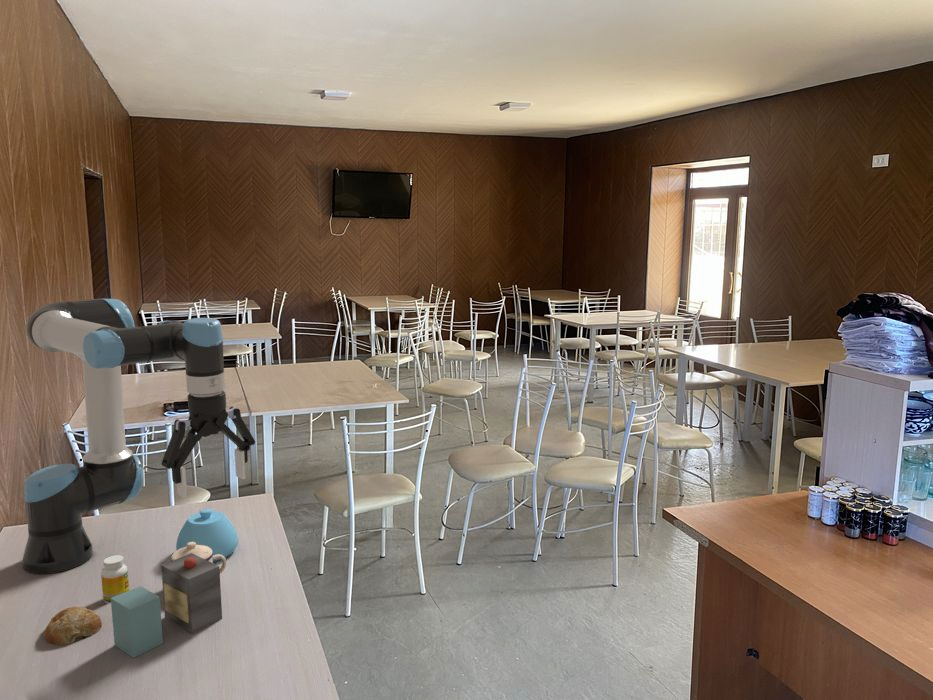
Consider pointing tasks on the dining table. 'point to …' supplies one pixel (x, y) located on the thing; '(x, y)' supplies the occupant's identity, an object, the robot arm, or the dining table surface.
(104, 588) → the supplement bottle
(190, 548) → the teacup with lid
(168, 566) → the switch base
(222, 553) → the sugar bowl
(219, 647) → the dining table surface
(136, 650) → the teal rectangular block
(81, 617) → the bread roll
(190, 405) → the robot arm
